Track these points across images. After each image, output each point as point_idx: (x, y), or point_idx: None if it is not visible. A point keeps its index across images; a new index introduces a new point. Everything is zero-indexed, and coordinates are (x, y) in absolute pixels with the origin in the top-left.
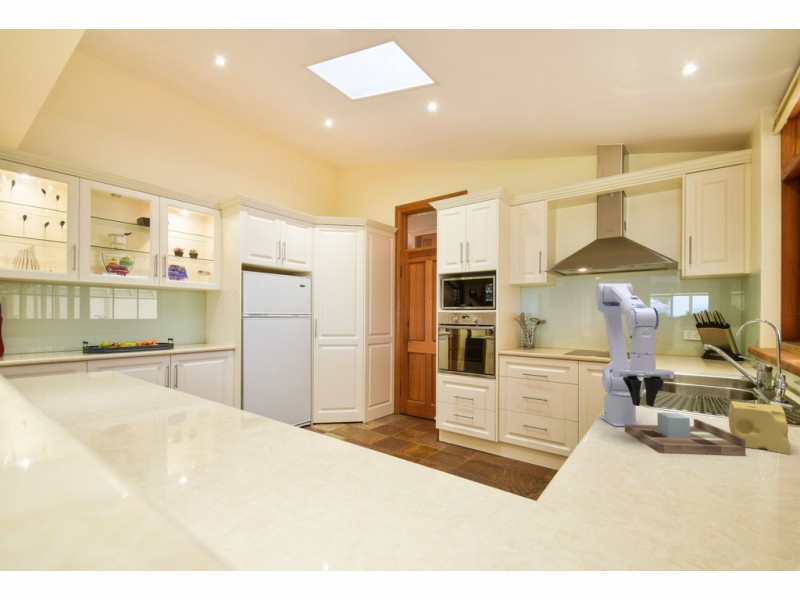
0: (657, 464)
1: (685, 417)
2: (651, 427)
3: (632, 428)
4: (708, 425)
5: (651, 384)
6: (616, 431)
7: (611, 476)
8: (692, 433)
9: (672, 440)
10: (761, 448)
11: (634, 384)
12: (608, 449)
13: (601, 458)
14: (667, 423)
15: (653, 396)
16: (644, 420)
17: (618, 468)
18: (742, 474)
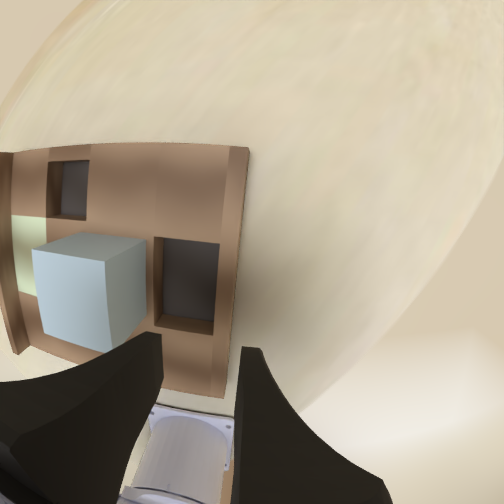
0: (332, 57)
1: (38, 264)
2: None
3: (226, 355)
4: (3, 294)
5: (78, 453)
6: None
7: (469, 40)
8: None
9: (157, 199)
10: None
11: (342, 470)
12: (412, 198)
13: (461, 129)
14: (120, 265)
15: (116, 361)
16: None
17: (447, 63)
18: (135, 13)
